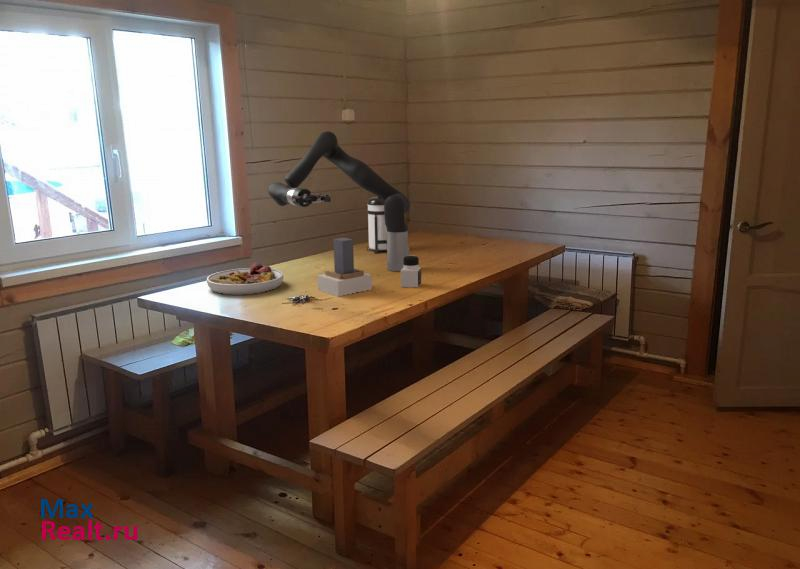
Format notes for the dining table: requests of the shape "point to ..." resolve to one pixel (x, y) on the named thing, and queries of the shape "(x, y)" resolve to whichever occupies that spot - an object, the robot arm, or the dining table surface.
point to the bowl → (245, 280)
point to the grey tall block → (343, 256)
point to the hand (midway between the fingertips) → (320, 200)
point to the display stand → (344, 282)
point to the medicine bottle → (411, 272)
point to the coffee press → (376, 224)
